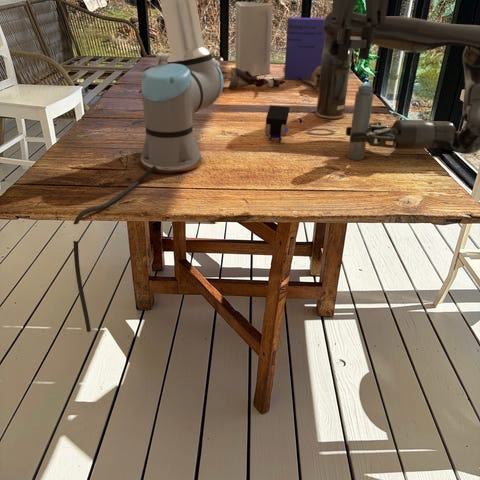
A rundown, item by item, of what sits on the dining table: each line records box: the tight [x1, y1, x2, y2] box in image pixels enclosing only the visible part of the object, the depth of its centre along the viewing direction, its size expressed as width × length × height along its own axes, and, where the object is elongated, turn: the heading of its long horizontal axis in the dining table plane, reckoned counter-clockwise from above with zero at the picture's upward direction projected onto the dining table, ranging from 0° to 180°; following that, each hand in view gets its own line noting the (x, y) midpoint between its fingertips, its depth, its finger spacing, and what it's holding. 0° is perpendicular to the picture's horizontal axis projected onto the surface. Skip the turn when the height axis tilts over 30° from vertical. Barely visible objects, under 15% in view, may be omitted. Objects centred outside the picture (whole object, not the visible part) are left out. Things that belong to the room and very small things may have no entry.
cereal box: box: [283, 16, 325, 81], centre depth 202 cm, size 17×5×24 cm, turn 86°
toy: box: [155, 51, 221, 68], centre depth 223 cm, size 24×25×7 cm
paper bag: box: [234, 1, 274, 77], centre depth 210 cm, size 19×15×28 cm
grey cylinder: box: [346, 85, 375, 161], centre depth 124 cm, size 4×4×18 cm
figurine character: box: [264, 105, 290, 143], centre depth 140 cm, size 7×8×15 cm
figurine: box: [222, 66, 287, 89], centre depth 190 cm, size 24×8×30 cm
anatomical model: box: [310, 66, 321, 93], centre depth 190 cm, size 13×9×15 cm
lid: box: [349, 36, 367, 50], centre depth 104 cm, size 5×5×2 cm
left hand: (352, 59), depth 106 cm, fingers closed on lid, 5 cm apart
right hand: (348, 134), depth 125 cm, fingers closed on grey cylinder, 4 cm apart
